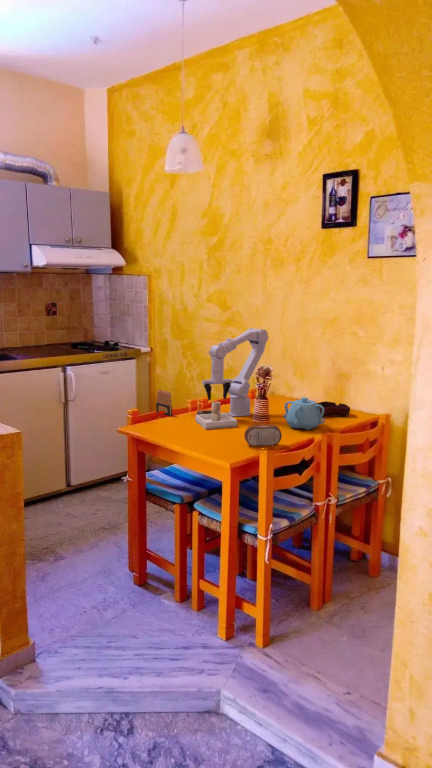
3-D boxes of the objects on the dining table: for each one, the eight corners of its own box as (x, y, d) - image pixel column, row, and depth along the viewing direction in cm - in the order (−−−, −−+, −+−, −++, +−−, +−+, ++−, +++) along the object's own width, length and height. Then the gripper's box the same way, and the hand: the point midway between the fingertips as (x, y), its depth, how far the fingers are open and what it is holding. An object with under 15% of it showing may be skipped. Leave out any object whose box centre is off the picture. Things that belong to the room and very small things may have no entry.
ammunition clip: (172, 415, 285) (172, 391, 282) (169, 416, 283) (169, 392, 281) (158, 411, 292) (158, 388, 290) (156, 412, 291) (155, 388, 289)
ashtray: (341, 410, 300) (341, 400, 299) (352, 418, 284) (352, 408, 283) (307, 410, 298) (307, 401, 297) (316, 418, 282) (316, 408, 281)
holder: (213, 413, 289) (213, 409, 289) (219, 417, 281) (219, 413, 281) (196, 414, 286) (196, 410, 286) (202, 419, 279) (202, 414, 278)
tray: (225, 419, 279) (225, 412, 278) (237, 426, 265) (237, 420, 264) (195, 421, 274) (195, 415, 274) (205, 429, 260) (205, 422, 260)
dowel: (217, 420, 272) (217, 401, 271) (221, 422, 269) (222, 403, 267) (210, 421, 270) (210, 402, 269) (214, 423, 267) (214, 404, 265)
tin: (280, 443, 239) (280, 423, 238) (282, 446, 236) (282, 425, 235) (244, 445, 237) (244, 425, 235) (245, 447, 234) (246, 427, 232)
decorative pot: (281, 423, 273) (282, 394, 270) (314, 421, 275) (315, 393, 273) (291, 432, 257) (292, 402, 254) (326, 431, 260) (327, 401, 257)
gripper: (228, 369, 282) (228, 396, 284) (200, 370, 277) (199, 398, 280) (234, 371, 275) (233, 399, 278) (204, 372, 271) (204, 401, 273)
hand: (217, 399), depth 278 cm, fingers open, 7 cm apart
